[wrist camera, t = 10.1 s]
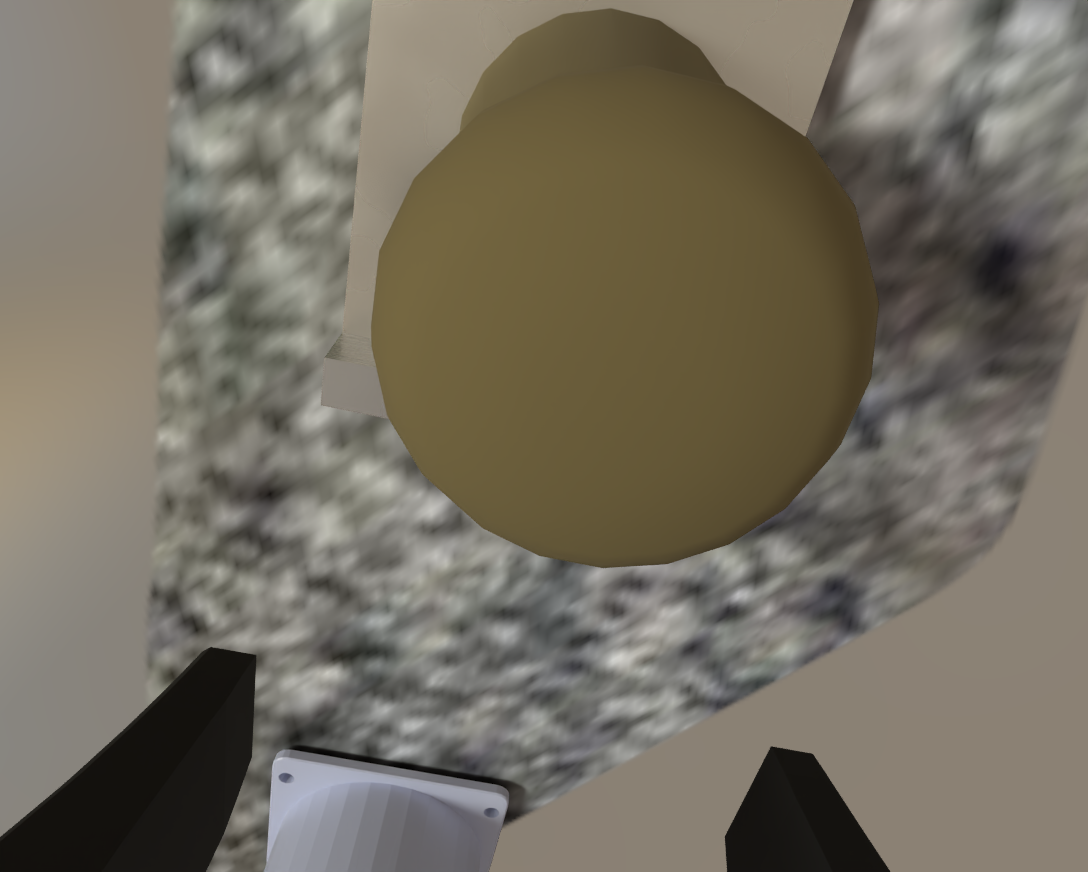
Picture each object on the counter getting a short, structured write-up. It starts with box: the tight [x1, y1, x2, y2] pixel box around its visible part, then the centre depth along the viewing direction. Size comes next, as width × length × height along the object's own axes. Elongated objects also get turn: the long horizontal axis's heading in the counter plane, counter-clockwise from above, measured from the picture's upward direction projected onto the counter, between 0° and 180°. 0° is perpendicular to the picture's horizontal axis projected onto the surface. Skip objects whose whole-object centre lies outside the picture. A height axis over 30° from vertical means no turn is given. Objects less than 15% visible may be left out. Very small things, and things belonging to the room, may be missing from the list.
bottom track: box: [321, 0, 854, 419], centre depth 16 cm, size 14×9×2 cm, turn 168°
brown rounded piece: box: [371, 8, 879, 568], centre depth 12 cm, size 6×6×11 cm
